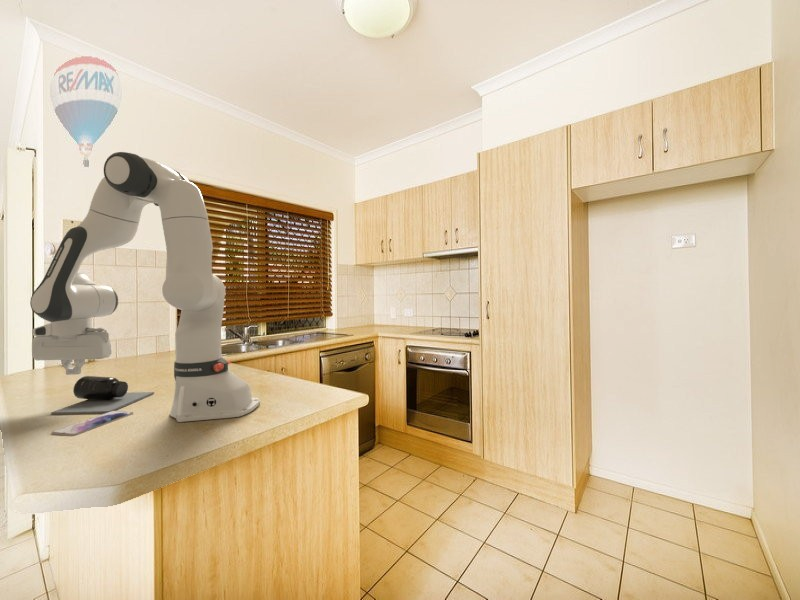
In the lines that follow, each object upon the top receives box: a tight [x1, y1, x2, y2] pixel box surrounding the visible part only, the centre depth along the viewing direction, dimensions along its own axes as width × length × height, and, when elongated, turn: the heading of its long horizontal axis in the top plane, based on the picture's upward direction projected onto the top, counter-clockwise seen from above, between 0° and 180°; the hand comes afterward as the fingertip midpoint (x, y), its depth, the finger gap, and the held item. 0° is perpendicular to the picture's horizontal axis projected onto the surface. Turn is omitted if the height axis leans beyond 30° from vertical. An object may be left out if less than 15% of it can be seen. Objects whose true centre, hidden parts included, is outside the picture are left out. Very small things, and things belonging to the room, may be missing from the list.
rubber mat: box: [50, 391, 155, 416], centre depth 102 cm, size 16×18×1 cm
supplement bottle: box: [72, 375, 129, 400], centre depth 104 cm, size 7×7×12 cm
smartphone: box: [51, 410, 134, 437], centre depth 87 cm, size 7×1×15 cm
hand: (73, 374), depth 102 cm, fingers closed
